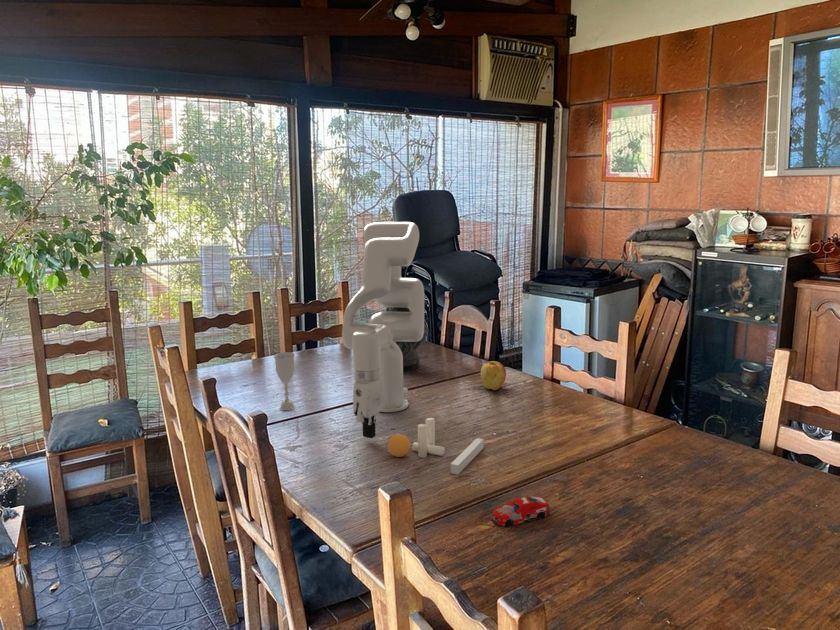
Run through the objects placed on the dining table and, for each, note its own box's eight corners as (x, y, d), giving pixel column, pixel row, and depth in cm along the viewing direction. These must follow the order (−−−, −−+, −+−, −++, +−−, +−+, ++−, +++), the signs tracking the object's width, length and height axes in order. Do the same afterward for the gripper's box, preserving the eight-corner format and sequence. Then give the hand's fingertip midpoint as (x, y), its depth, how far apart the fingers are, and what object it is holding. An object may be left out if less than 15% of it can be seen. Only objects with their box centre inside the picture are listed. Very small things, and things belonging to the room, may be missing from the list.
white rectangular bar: (476, 446, 172) (476, 438, 171) (483, 447, 171) (483, 439, 171) (450, 473, 156) (450, 463, 156) (458, 474, 155) (458, 465, 155)
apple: (511, 389, 220) (511, 362, 218) (491, 394, 215) (492, 366, 213) (494, 383, 228) (494, 356, 226) (475, 387, 223) (475, 360, 221)
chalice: (292, 412, 201) (289, 358, 197) (273, 411, 202) (269, 357, 199) (301, 404, 208) (298, 352, 204) (282, 403, 209) (279, 351, 206)
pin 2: (428, 446, 173) (428, 417, 171) (436, 447, 172) (436, 418, 170) (424, 449, 170) (424, 420, 169) (432, 451, 169) (432, 421, 168)
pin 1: (420, 453, 168) (420, 423, 166) (428, 454, 167) (428, 424, 165) (416, 456, 166) (416, 426, 164) (424, 458, 165) (424, 427, 163)
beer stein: (378, 361, 259) (376, 302, 254) (424, 359, 261) (423, 300, 256) (379, 373, 243) (378, 310, 238) (429, 370, 245) (428, 308, 240)
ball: (417, 445, 168) (401, 431, 170) (411, 442, 162) (395, 427, 165) (402, 463, 167) (387, 448, 170) (396, 460, 162) (380, 445, 164)
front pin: (415, 440, 171) (444, 445, 167) (416, 448, 171) (444, 453, 168) (412, 444, 169) (440, 449, 165) (412, 452, 169) (441, 457, 166)
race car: (499, 531, 130) (499, 513, 129) (487, 518, 135) (487, 501, 134) (553, 518, 135) (554, 501, 134) (540, 506, 140) (540, 490, 139)
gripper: (364, 383, 165) (367, 448, 168) (392, 368, 178) (393, 429, 181) (340, 380, 168) (343, 444, 171) (369, 365, 181) (371, 425, 185)
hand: (369, 436), depth 176 cm, fingers closed
